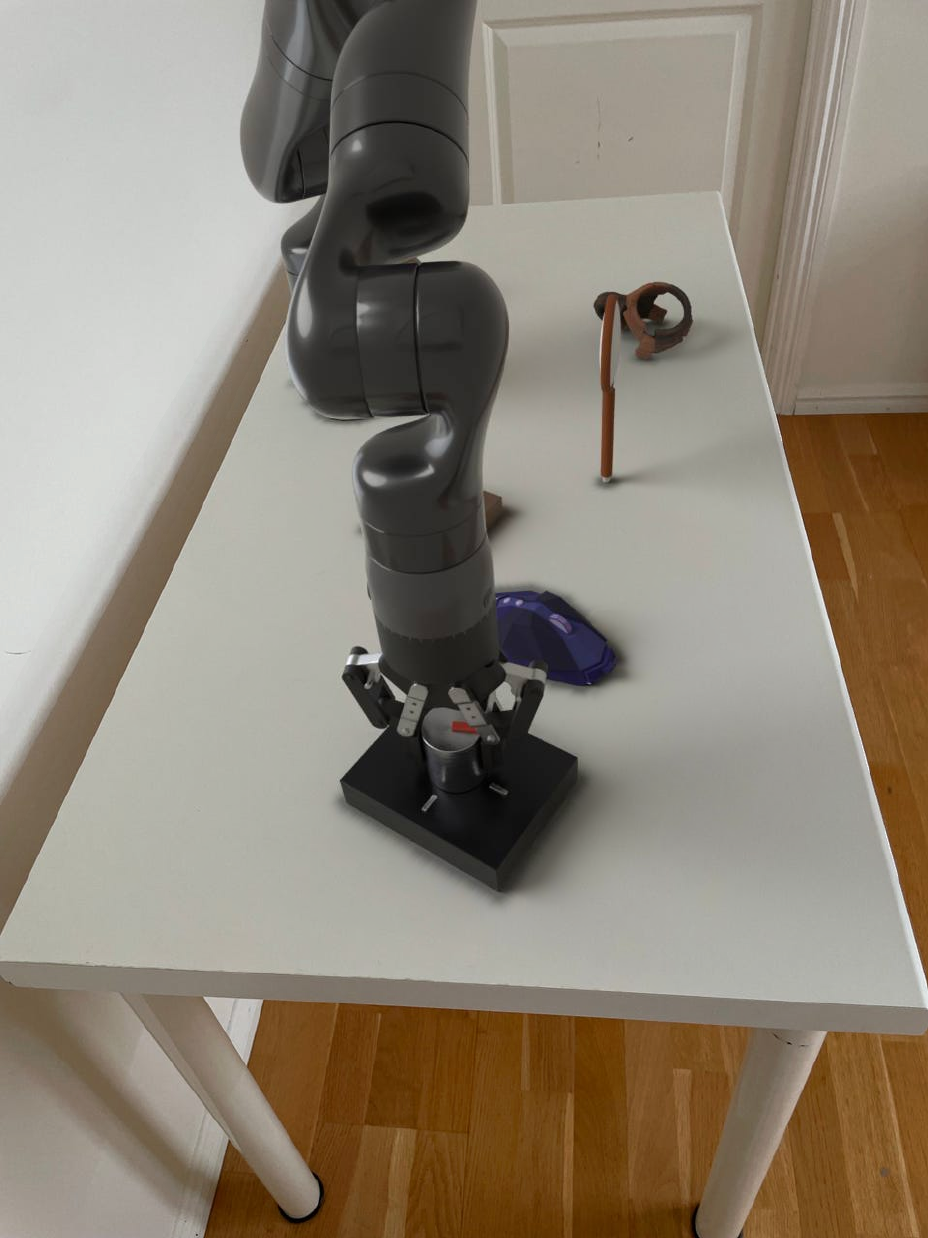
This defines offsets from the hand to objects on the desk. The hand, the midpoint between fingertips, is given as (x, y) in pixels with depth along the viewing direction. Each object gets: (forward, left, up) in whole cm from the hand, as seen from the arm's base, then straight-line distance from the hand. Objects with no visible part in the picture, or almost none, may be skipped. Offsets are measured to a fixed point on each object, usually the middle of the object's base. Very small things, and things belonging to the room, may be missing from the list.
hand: (456, 758), depth 69 cm
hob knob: (0, 0, -1) cm, 1 cm away
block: (-21, +25, -4) cm, 33 cm away
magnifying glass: (-9, +39, -5) cm, 40 cm away
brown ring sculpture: (-19, +66, -5) cm, 69 cm away
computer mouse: (-3, +17, -5) cm, 18 cm away
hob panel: (0, 0, -4) cm, 4 cm away
